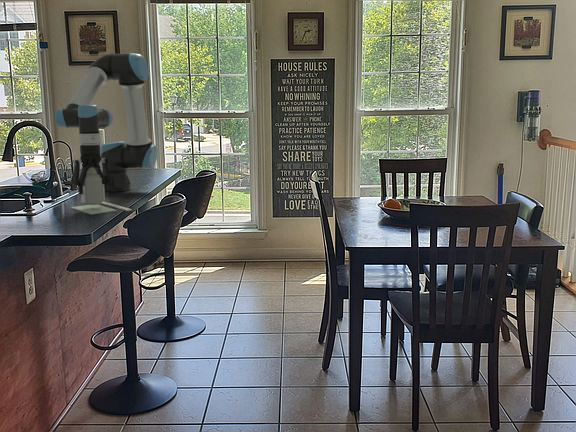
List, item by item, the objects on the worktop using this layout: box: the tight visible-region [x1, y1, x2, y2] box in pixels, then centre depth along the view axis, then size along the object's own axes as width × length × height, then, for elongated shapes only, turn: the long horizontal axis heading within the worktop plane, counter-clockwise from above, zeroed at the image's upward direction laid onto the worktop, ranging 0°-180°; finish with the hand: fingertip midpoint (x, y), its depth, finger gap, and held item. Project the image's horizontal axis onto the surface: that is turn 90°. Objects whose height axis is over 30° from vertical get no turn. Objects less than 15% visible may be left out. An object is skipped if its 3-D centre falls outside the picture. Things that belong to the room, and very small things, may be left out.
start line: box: [100, 201, 133, 212], centre depth 249 cm, size 2×24×1 cm, turn 43°
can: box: [83, 173, 104, 205], centre depth 241 cm, size 8×8×12 cm
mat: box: [70, 204, 118, 215], centre depth 243 cm, size 11×18×1 cm, turn 43°
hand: (93, 201), depth 242 cm, fingers closed on can, 7 cm apart
